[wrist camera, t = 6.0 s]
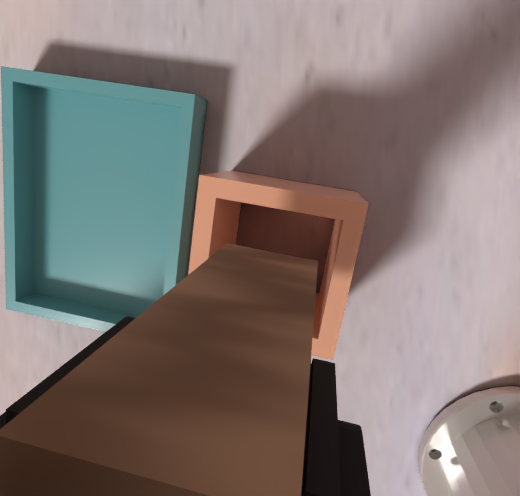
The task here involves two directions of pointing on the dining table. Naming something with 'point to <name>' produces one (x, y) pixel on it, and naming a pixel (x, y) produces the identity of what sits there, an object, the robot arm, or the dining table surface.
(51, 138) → the tray
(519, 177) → the dining table surface
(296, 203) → the holder cup
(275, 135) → the dining table surface
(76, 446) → the walnut stick
